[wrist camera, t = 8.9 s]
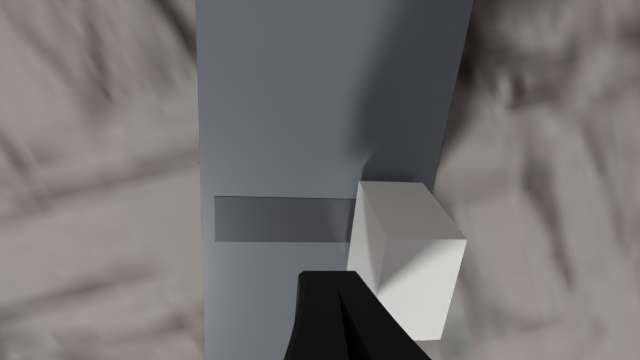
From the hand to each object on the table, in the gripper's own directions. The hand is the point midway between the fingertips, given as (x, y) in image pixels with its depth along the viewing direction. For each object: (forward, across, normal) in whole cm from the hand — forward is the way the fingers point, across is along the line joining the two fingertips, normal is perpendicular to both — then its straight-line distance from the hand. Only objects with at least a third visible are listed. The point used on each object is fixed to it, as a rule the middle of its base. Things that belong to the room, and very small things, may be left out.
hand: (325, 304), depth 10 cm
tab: (+4, -2, 0) cm, 4 cm away
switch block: (+6, 0, -5) cm, 8 cm away
